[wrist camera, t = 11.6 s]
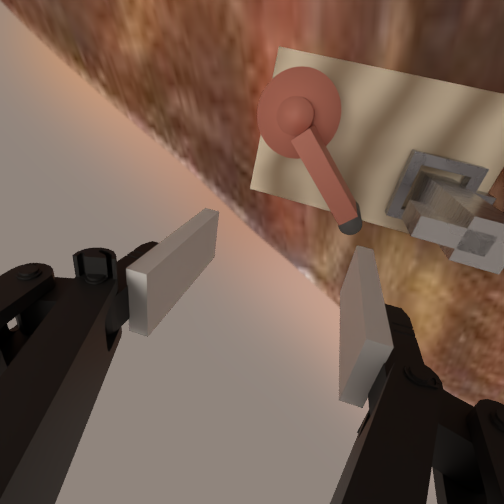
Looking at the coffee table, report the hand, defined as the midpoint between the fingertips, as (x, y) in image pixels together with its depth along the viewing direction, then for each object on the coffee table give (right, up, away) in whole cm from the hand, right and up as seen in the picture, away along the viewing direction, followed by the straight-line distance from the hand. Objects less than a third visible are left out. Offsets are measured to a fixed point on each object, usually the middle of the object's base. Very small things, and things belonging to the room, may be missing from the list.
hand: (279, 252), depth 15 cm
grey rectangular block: (+15, +7, +15) cm, 22 cm away
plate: (+11, +10, +16) cm, 22 cm away
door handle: (+5, +9, +12) cm, 16 cm away
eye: (+17, +6, +15) cm, 23 cm away
